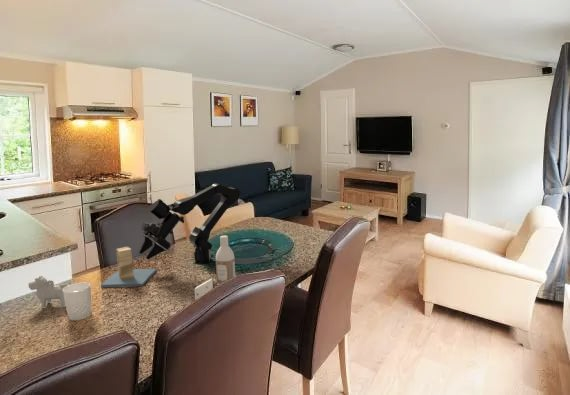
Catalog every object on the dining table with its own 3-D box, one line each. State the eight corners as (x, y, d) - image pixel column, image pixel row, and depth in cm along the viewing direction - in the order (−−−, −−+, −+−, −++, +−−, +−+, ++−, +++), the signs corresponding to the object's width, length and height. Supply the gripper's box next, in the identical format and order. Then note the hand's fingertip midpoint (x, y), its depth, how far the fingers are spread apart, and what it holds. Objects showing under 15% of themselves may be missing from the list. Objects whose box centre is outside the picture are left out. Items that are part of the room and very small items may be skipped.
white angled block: (224, 301, 125) (210, 280, 124) (200, 315, 127) (186, 293, 126) (227, 297, 129) (213, 276, 128) (203, 310, 131) (190, 289, 130)
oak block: (133, 277, 152) (131, 249, 150) (122, 280, 149) (119, 251, 147) (130, 274, 156) (127, 246, 154) (119, 277, 153) (115, 248, 151)
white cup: (99, 311, 126) (95, 283, 124) (79, 323, 118) (75, 293, 116) (81, 308, 128) (77, 281, 126) (60, 319, 121) (56, 290, 119)
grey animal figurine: (37, 302, 134) (33, 274, 132) (74, 301, 134) (70, 273, 132) (28, 309, 128) (23, 280, 126) (66, 308, 129) (62, 278, 127)
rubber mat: (156, 270, 162) (156, 268, 161) (142, 286, 146) (142, 283, 146) (119, 271, 162) (118, 269, 161) (101, 287, 146) (101, 284, 146)
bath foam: (214, 289, 141) (210, 238, 137) (222, 282, 147) (219, 233, 144) (230, 291, 139) (228, 239, 135) (238, 284, 145) (236, 234, 142)
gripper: (145, 211, 163) (121, 240, 159) (160, 218, 148) (134, 251, 144) (165, 225, 169) (142, 254, 165) (181, 233, 154) (156, 265, 150)
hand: (143, 256), depth 156 cm, fingers open, 9 cm apart
